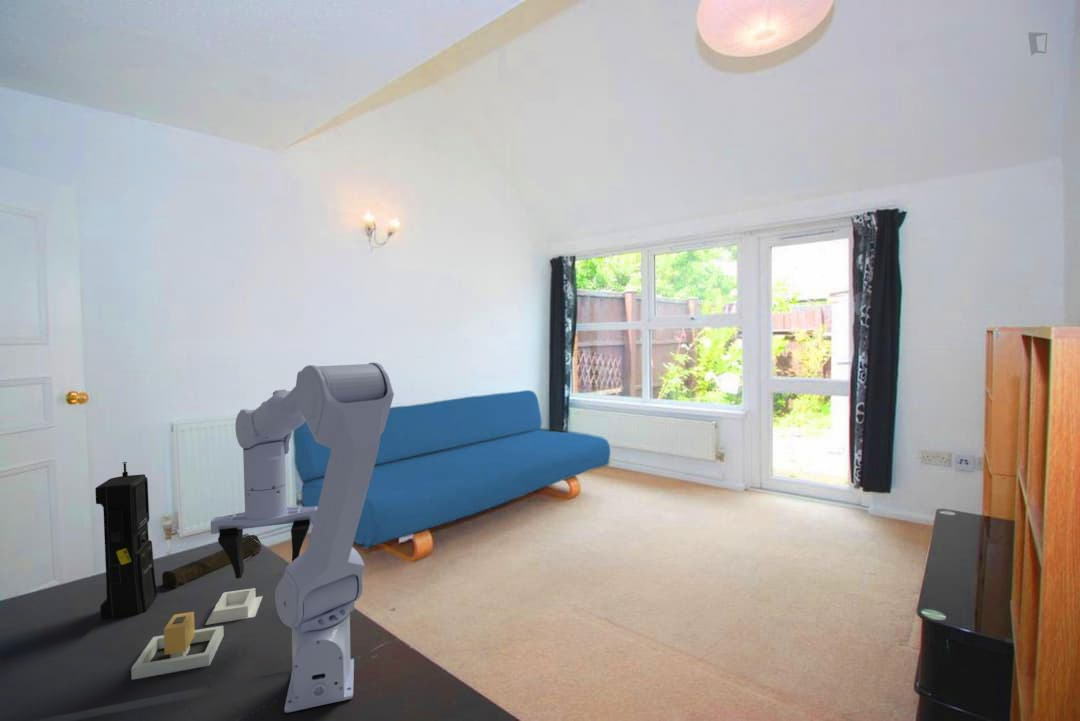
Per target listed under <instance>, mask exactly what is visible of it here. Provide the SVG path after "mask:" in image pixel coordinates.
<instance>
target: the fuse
mask: <svg viewBox="0 0 1080 721" xmlns="http://www.w3.org/2000/svg"><path fill="white" fill-rule="evenodd" d="M195 628H196V627H195V611H190V612H189V611H188V612H183V613H178V614H177V613H176V614H173V616H172V617H171V618H170V620H169V621H168V623H167V624H166V625H165V627H164V628H163V635H164V648H163V649H164V655H165V656H167V655H169V656H170V658H176V657H182V656H187V655H188V653H189V652H190V650H191V644H192V643H191V641H192V639H193V638H194V636H195V630H196V629H195ZM190 643H191V644H190ZM170 658H169V659H170Z"/></svg>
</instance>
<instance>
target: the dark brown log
mask: <svg viewBox="0 0 1080 721" xmlns="http://www.w3.org/2000/svg"><path fill="white" fill-rule="evenodd" d="M251 537H252V538H251ZM254 539H255V540H256V541H258V542H259V543H260V544H261V543H262V542H261V541H260V538H258V536H257V535H255V534H250V535H247V536H244V537H243V538H242V553H243V560H244V559H246V558H248V557H250V556H251V555H254V554H256V553H257V552H259V551H260V552H261V551H262V550H261V549H262V546H261V545H260V544H259V543H258V542H256V541H255V540H254ZM260 552H259V553H260ZM257 554H258V553H257ZM257 554H256V555H257ZM228 565H232V564H231V561H230V559H229V557H228V555H227V554H226V552H225V551H224V549H223V548H222V550H219V551H216V552H214V553H212V554H211V553H210V555H206V556H205V557H202V558H200V559H198V560H194V561H191V562H189V563H186V564H185V565H181V566H179V567H177V568H174V569H171V570H165V571H163V572H162V574H161V575H162V576H161V581H162V586H163V587H165V588H169V589H172V590H173V589H178V588H179V587H180V586H184V585H185V584H187V583H190V582H191V581H194V580H196V579H198V578H200V577H203V576H205V575H208V574H211V573H213V572H215V571H218V570H220V569H221V568H224V567H226V566H228Z"/></svg>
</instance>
